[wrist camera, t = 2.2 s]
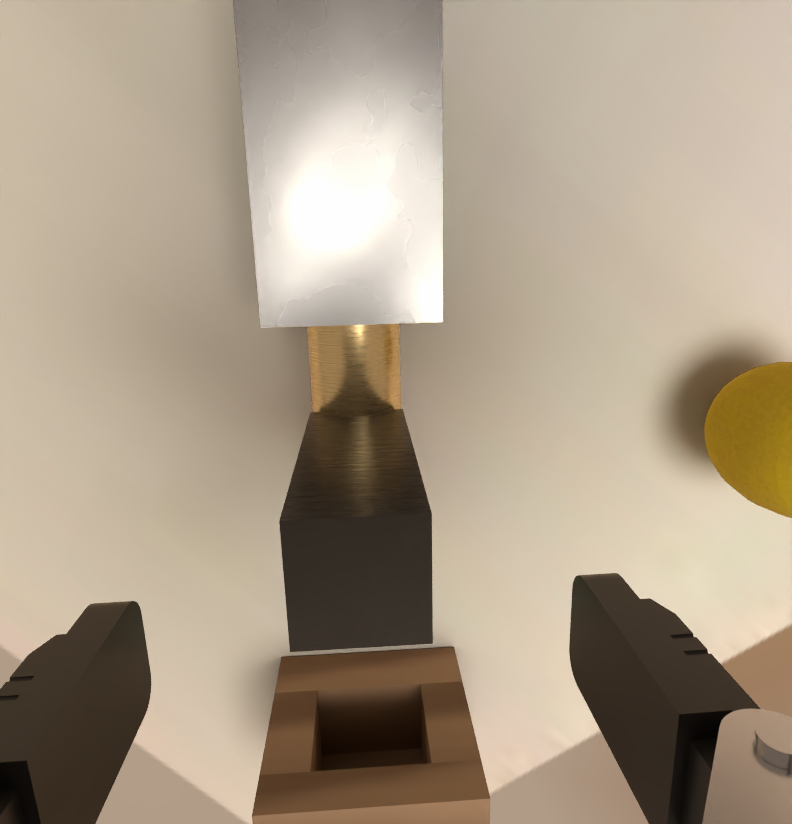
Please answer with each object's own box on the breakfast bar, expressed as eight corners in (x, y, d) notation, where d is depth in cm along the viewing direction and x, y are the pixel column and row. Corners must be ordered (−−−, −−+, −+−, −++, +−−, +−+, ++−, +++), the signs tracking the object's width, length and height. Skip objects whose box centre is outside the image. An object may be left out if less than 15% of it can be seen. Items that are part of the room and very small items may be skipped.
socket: (281, 657, 28) (251, 816, 20) (453, 647, 28) (490, 798, 20) (288, 736, 29) (262, 916, 21) (453, 725, 29) (488, 897, 22)
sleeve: (259, -90, 20) (212, -250, 13) (414, -89, 20) (441, -247, 14) (287, 305, 23) (260, 327, 17) (419, 301, 24) (443, 322, 17)
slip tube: (284, -57, 18) (192, -439, 8) (390, -57, 18) (431, -429, 8) (324, 589, 24) (301, 837, 14) (404, 585, 24) (438, 826, 14)
